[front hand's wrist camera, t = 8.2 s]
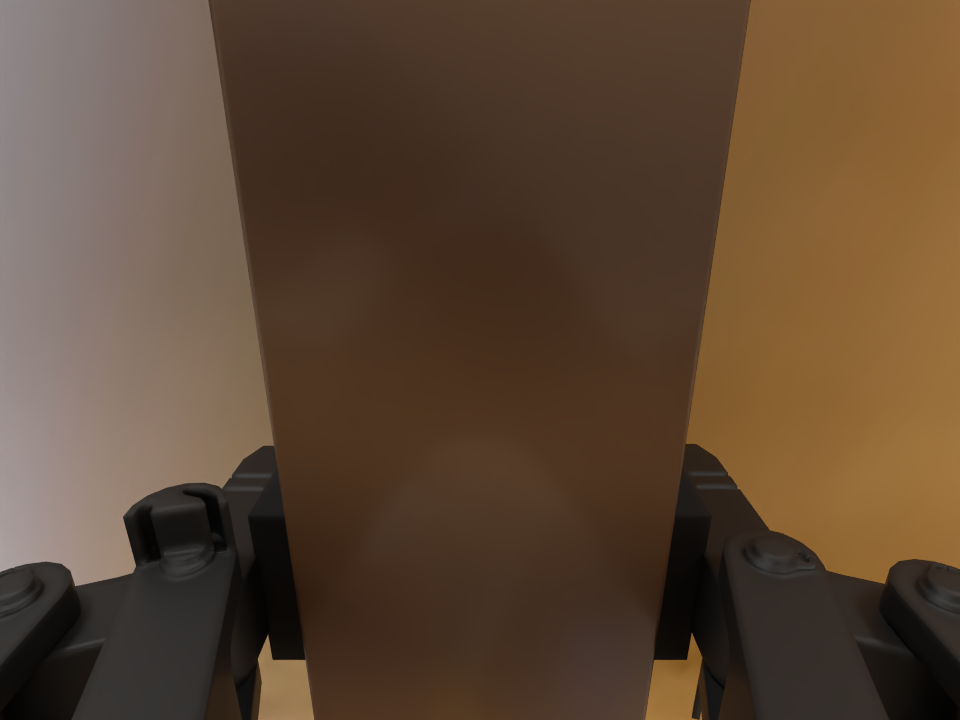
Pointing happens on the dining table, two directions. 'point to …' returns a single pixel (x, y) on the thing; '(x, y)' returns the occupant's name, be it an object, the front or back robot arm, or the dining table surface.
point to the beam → (479, 330)
